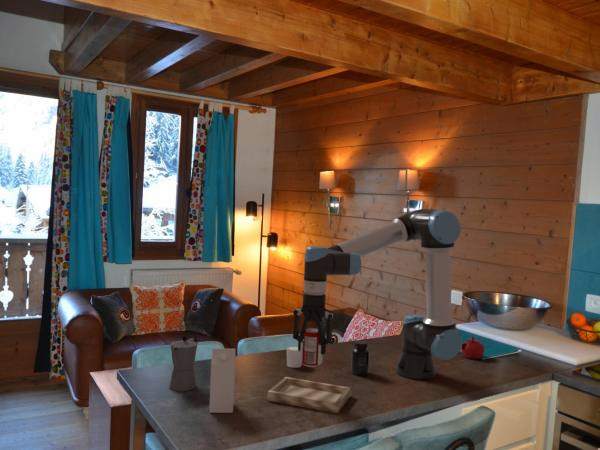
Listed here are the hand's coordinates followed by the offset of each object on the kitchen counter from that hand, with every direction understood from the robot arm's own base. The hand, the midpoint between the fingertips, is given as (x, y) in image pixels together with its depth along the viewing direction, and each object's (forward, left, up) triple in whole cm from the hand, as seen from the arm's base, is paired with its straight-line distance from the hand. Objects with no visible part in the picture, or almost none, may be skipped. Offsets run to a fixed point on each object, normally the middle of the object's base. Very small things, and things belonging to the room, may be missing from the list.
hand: (311, 362), depth 177 cm
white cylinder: (+17, -31, -13) cm, 37 cm away
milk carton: (+22, +20, -13) cm, 33 cm away
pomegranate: (-49, -79, -13) cm, 93 cm away
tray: (0, 0, -12) cm, 12 cm away
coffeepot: (+43, +8, -13) cm, 46 cm away
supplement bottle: (-9, -34, -13) cm, 37 cm away
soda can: (0, 0, -1) cm, 1 cm away
